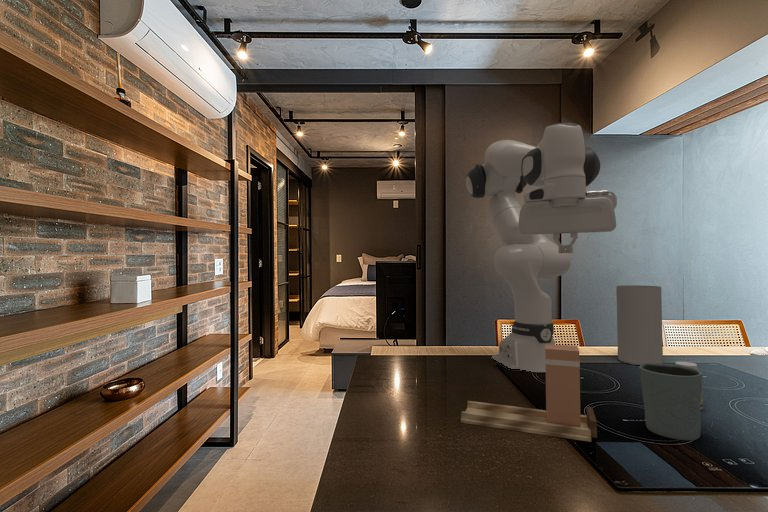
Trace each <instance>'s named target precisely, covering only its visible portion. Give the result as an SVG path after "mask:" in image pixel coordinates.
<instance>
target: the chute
mask: <svg viewBox="0 0 768 512" xmlns="http://www.w3.org/2000/svg"><path fill="white" fill-rule="evenodd" d="M466 404H467V405H466V406H467V407H466V409H465V411H464V410H462V411H461V412H460V417H461V418H460V423H461V424H468V425H469V424H470V425H475V426H481V427H488V428H495V429H503V430H510V431H515V432H523V433H528V434H536V435H541V436H542V435H543V436H549V437H554V438H555V437H557V438H563V439H570V440H575V441H576V440H577V441H582V442H583V441H584V442H589V443H590V442H592V438H593V439H597V438H598V421H597V418H596V416H595V412H594V408H593V407H592V406H586V415H584V414H580V417H581V427H575V426H568V425H560V424H553V423H546V409H544V410H543V409H538V408H530V407H529V408H528V407H521V406H514V405H506V404H499V403H498V404H497V403H488V402H481V401H480V402H479V401H474V400H473V401H472V400H467V403H466Z"/></svg>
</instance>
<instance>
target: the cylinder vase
mask: <svg viewBox="0 0 768 512" xmlns="http://www.w3.org/2000/svg"><path fill="white" fill-rule="evenodd" d="M615 288H616V289H615V290H616V326H617V329H616V334H617V335H616V338H617V341H616V342H617V359H618V360H619V361H620V362H621V363H625V364H627V363H628V365H633V366H638V365H641V364H647V363H662V364H664V347H663V346H664V345H663V310H662V309H663V305H662V303H663V302H662V300H663V299H662V286H657V285H640V284H639V285H636V284H635V285H634V284H633V285H632V284H631V285H630V284H628V285H616V287H615Z"/></svg>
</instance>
